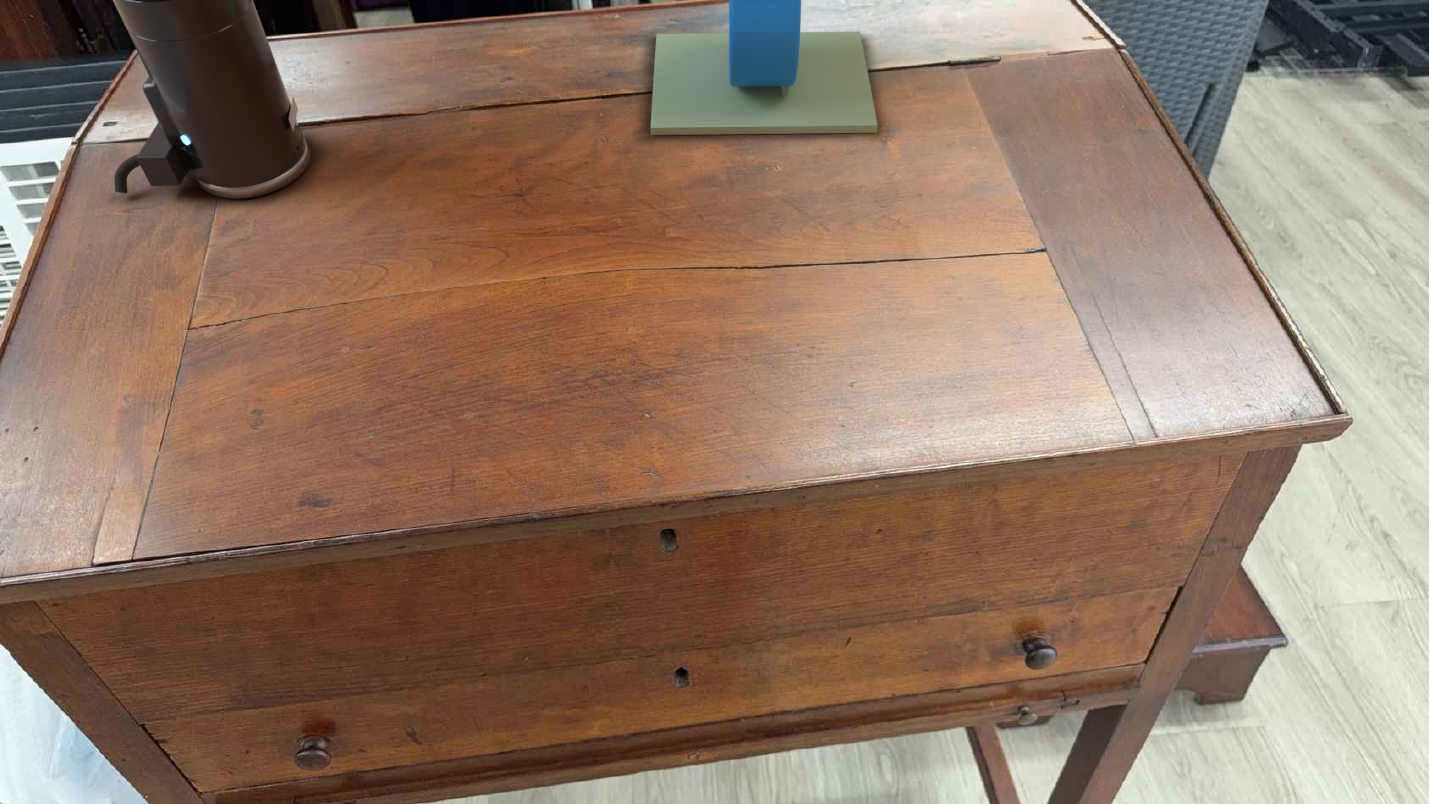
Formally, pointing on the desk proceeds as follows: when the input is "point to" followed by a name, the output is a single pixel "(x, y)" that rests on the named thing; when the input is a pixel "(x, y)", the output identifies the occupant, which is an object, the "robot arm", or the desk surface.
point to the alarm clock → (764, 42)
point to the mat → (760, 89)
